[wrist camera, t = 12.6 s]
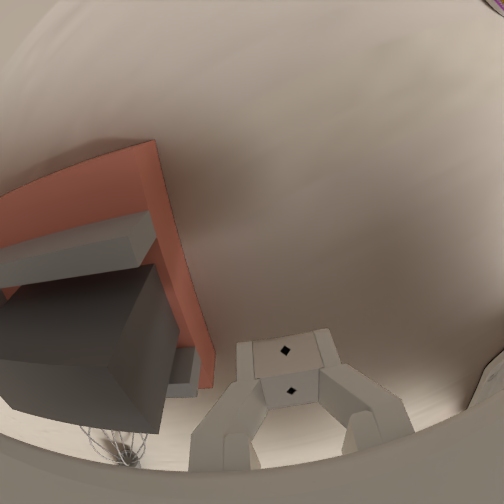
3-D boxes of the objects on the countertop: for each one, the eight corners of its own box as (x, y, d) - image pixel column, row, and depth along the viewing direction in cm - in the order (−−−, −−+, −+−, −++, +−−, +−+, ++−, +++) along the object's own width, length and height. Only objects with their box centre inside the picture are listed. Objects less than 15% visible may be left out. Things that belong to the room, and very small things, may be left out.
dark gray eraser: (180, 330, 14) (158, 434, 9) (52, 337, 15) (12, 409, 9) (154, 263, 12) (107, 367, 7) (22, 284, 13) (-34, 353, 8)
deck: (215, 353, 19) (210, 421, 14) (45, 356, 20) (21, 402, 15) (154, 139, 13) (105, 160, 8) (-28, 211, 14) (-76, 245, 9)
